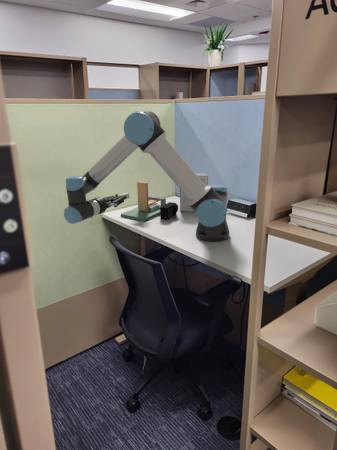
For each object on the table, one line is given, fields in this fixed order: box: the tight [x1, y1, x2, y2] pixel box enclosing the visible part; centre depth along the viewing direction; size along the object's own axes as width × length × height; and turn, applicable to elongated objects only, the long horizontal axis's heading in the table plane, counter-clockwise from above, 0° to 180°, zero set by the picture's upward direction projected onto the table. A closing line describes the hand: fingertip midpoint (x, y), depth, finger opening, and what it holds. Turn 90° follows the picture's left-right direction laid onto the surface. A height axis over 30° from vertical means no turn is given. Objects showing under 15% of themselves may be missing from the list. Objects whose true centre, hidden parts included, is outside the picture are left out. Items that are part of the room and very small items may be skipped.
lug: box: [148, 195, 167, 206], centre depth 198 cm, size 3×10×5 cm, turn 57°
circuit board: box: [120, 204, 161, 222], centre depth 191 cm, size 25×16×2 cm, turn 147°
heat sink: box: [149, 202, 160, 212], centre depth 193 cm, size 8×8×3 cm
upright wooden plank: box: [136, 181, 161, 212], centre depth 191 cm, size 15×6×16 cm, turn 147°
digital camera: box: [159, 201, 179, 222], centre depth 182 cm, size 10×5×7 cm, turn 152°
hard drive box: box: [179, 173, 209, 212], centre depth 192 cm, size 16×8×20 cm, turn 84°
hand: (128, 195), depth 176 cm, fingers closed
